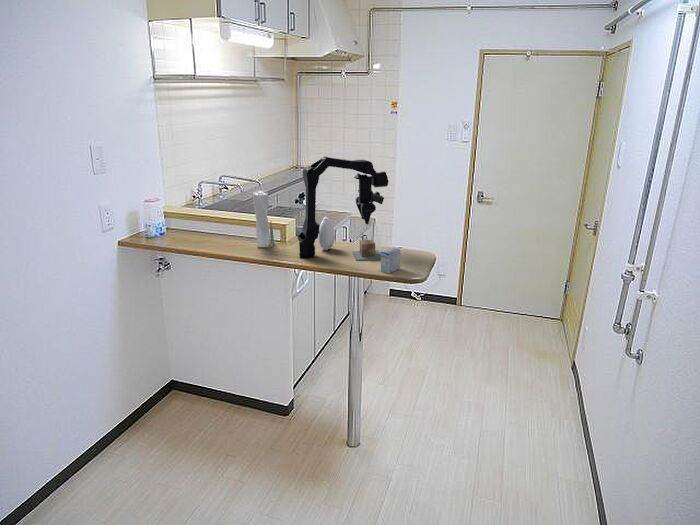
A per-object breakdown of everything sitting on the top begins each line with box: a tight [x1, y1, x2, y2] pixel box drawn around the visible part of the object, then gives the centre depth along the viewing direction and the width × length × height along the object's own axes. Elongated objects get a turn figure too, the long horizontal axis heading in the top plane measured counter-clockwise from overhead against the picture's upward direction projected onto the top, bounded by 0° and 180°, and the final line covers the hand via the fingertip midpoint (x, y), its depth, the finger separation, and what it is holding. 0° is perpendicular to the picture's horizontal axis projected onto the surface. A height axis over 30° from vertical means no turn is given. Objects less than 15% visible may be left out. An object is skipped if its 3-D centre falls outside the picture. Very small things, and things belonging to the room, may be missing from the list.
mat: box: [351, 249, 381, 262], centre depth 226 cm, size 12×12×1 cm
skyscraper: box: [252, 189, 275, 249], centre depth 237 cm, size 8×8×28 cm
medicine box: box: [380, 246, 401, 274], centre depth 207 cm, size 8×4×9 cm, turn 141°
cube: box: [359, 239, 376, 257], centre depth 225 cm, size 6×6×6 cm
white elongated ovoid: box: [317, 213, 336, 251], centre depth 233 cm, size 8×8×18 cm
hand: (365, 221), depth 232 cm, fingers open, 9 cm apart
